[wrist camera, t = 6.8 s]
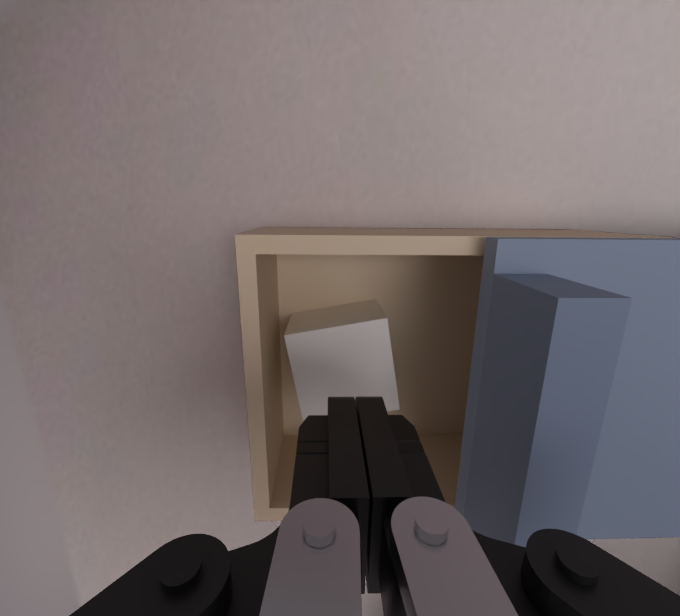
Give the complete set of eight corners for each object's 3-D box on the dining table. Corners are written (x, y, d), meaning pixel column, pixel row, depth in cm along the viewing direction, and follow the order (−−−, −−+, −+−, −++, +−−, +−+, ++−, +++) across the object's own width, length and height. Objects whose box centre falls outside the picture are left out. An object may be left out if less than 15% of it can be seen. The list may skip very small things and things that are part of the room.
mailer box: (568, 229, 16) (674, 237, 11) (531, 434, 19) (603, 513, 14) (264, 227, 16) (234, 234, 11) (274, 438, 19) (254, 521, 14)
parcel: (376, 298, 16) (386, 317, 13) (387, 376, 17) (399, 409, 14) (291, 313, 16) (283, 335, 13) (308, 389, 17) (304, 425, 14)
